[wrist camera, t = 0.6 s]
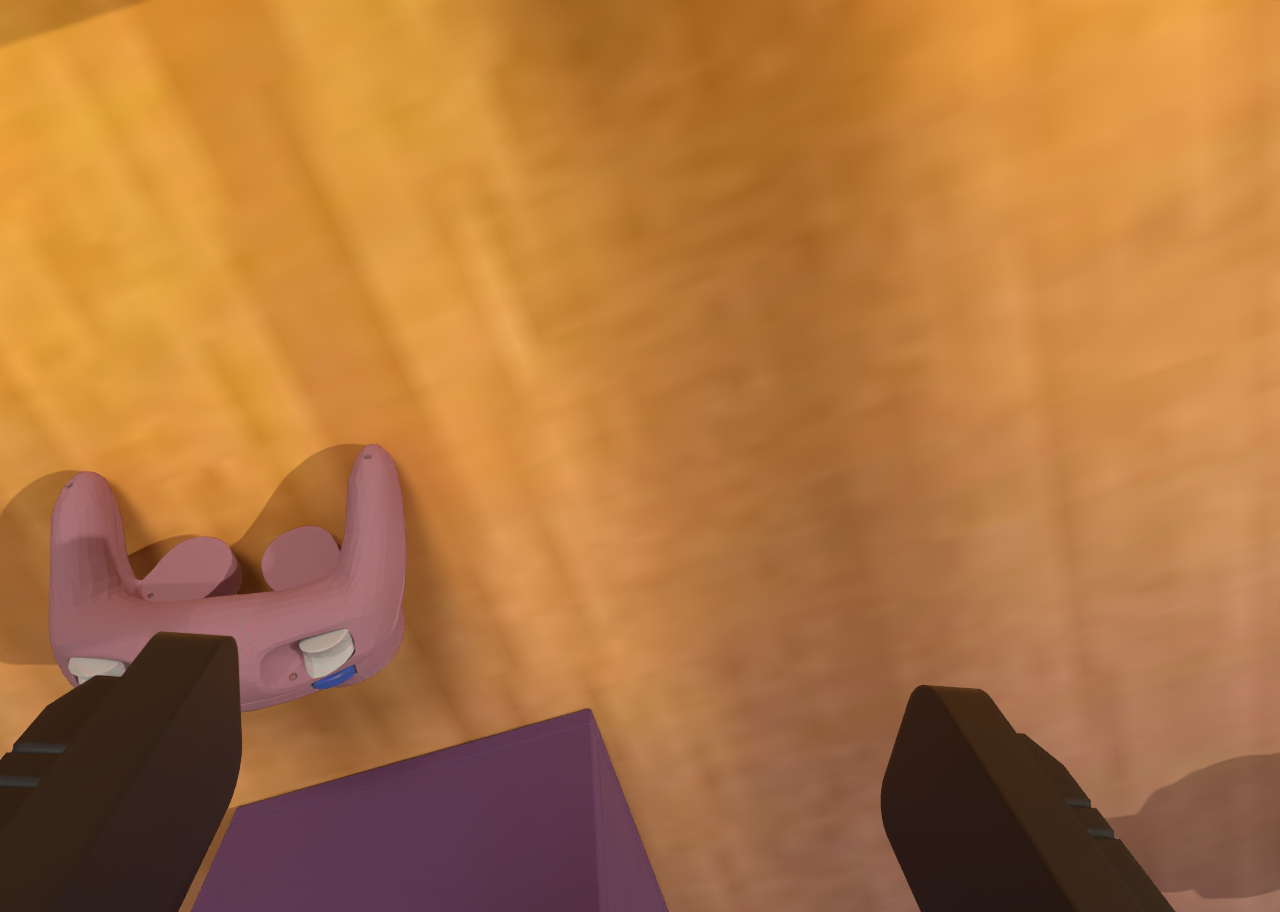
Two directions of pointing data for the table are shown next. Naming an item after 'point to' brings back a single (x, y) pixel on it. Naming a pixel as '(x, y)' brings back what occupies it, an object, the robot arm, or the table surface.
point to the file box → (447, 835)
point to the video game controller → (208, 583)
